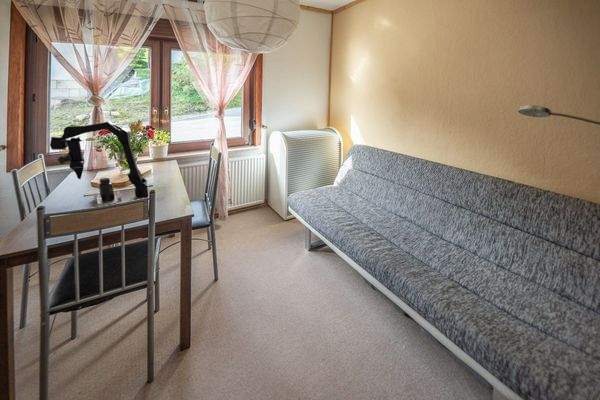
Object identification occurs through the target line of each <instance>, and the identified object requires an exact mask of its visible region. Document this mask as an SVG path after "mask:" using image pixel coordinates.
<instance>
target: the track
mask: <svg viewBox="0 0 600 400" xmlns="http://www.w3.org/2000/svg"><path fill="white" fill-rule="evenodd" d="M114 196H115V198H114V199H113V200H110V201H102V200H101V196H99V195H98V193H93V202H94V207H101V206H102V205H103V206H109V205H108V204H111V205H115V204H114V203H119V202H122V203H123V201H122V196H121V192H120V190H116V195H115V194H114ZM119 204H120V203H119ZM103 206H102V207H103Z"/></svg>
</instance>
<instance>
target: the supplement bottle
mask: <svg viewBox="0 0 600 400" xmlns="http://www.w3.org/2000/svg"><path fill="white" fill-rule="evenodd" d="M98 189H99V195H100V196H99V197H101V200H102V201H110V200H113V199H114V198H115V196H114V195H115V192H114V186H113V183H112V182H111V180H110V178H109V177H102V178H99V184H98Z"/></svg>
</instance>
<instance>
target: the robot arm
mask: <svg viewBox="0 0 600 400" xmlns="http://www.w3.org/2000/svg"><path fill="white" fill-rule="evenodd" d="M104 130H107V131H109V132H110V133H112V134H113V135H114V136H116V138H117V140H118V142H119V143H120V145H121V146H122V149H123V151H124V155H125V158H126V163H127V165H128V169H129V172H128V173H127V178H128V182H130V184H132V185H133V186H134V195H135V197H136V199H140V198H149V197H148V195H149V189H148V184H147V183H148V180H147V179H146V178H144V177H143V174H142V172H141V171H140V169H139V168H138V166H137V165H138V164H137V162H136V159H135V156H134V152H133V148H132V145H131V140H132V139H131V132H130V130H129V129H127V128H123V127H121V126H118V125H117V124H115V123H113V122H111V121H110V120H107V121H105V122H99V123H93V124H87V125H70V126H69V125H68V126H65V128H64V129H63V133H62V135H61V136H51V137H50V144H49V145H50V148H51V150H53V151H55V150H57V151H59V150H62V151H63V150H64V151H65V150H66V149H68V153H66V154H64V155H61V156H59V157H58V158H57V161H58V163H59V165H63V164H65V163H67V162H70V163H69V164H68V165H69V166H68V167H69V168H70V169H71V170H73V171H74V172H75V175H76V177H77V179H78V180H81V178H82V177H83V176H82V175H83V171H84V168H85V166H84V165H85V157H83V154H82V153H83V152H82V147H81V142H83V141H84V138H82V137H81V136H80V135H83V134H86V133H92V132H98V131H104Z"/></svg>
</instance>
